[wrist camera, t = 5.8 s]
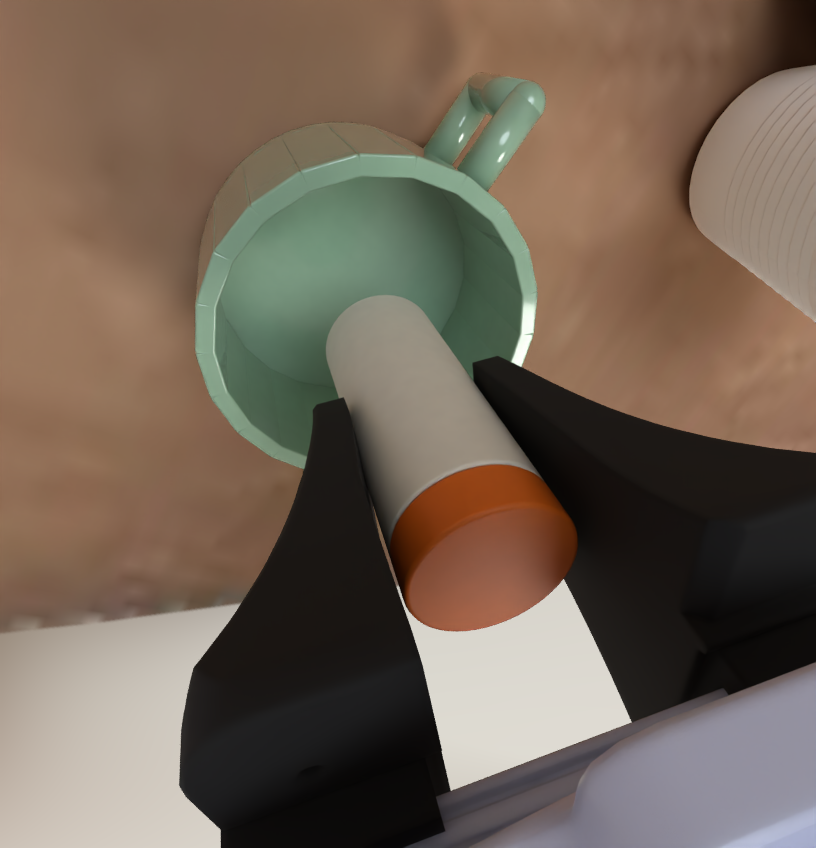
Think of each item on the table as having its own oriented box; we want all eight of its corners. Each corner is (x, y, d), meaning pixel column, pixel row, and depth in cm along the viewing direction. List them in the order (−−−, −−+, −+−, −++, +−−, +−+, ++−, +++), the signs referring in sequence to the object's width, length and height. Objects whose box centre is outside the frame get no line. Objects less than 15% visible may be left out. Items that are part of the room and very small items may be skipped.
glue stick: (338, 404, 16) (416, 654, 9) (313, 309, 14) (390, 541, 8) (437, 377, 16) (575, 600, 10) (426, 281, 14) (586, 481, 8)
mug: (376, 421, 24) (411, 509, 19) (149, 318, 19) (129, 406, 14) (569, 167, 20) (667, 207, 15) (346, -56, 14) (399, -89, 10)
